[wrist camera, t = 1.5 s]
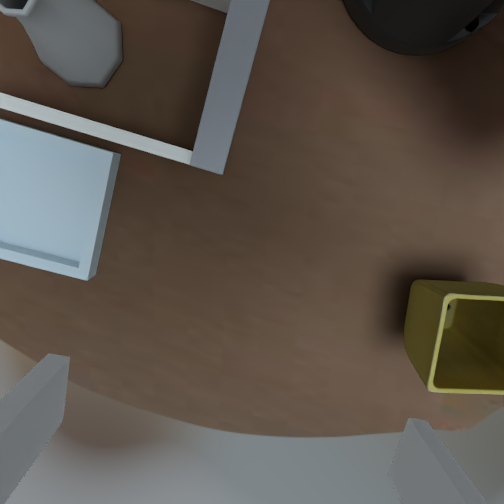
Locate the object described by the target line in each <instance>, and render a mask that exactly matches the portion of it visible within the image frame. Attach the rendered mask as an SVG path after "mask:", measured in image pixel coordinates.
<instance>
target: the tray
mask: <svg viewBox="0 0 504 504" xmlns="http://www.w3.org/2000/svg"><path fill="white" fill-rule="evenodd" d="M120 157H121V154H119V153H116V152H113V151H109V150H106V149H102V148H99V147H96V146H92V145H89V144H86V143H82V142H79V141H76V140H72V139H69V138H66V137H62V136H59V135H55V134H52V133H49V132H45V131H42V130H39V129H35V128H32V127H29V126H25V125H22V124H18V123H15V122H12V121H8V120H5V119H2V118H0V259H4V260H8V261H12V262H16V263H20V264H24V265H28V266H31V267H35V268H39V269H43V270H47V271H51V272H55V273H59V274H63V275H67V276H70V277H74V278H78V279H82V280H86V281H88V280H89V279H90V278H92V277H93V276H94V275H96V272H97V267H98V263H99V258H100V253H101V248H102V243H103V239H104V234H105V229H106V224H107V219H108V215H109V210H110V205H111V200H112V195H113V191H114V186H115V181H116V176H117V171H118V167H119V162H120Z"/></svg>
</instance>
